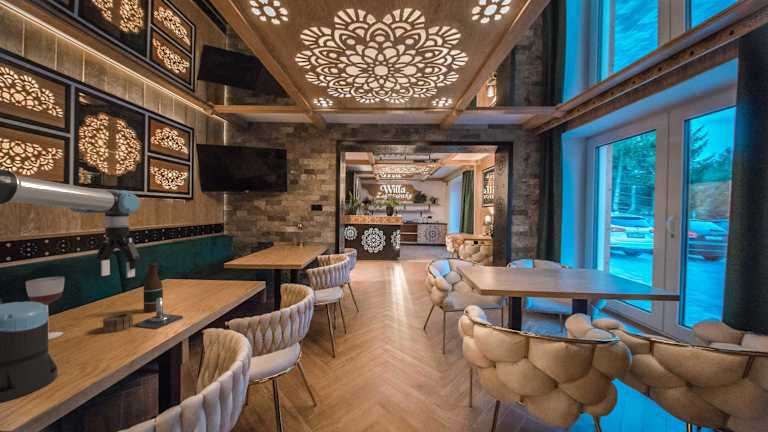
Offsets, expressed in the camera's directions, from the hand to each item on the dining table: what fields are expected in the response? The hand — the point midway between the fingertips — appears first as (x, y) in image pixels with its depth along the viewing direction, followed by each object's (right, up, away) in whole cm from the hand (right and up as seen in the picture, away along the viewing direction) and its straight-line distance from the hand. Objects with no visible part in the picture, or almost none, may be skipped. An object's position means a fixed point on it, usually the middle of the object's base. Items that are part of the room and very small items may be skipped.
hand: (118, 276), depth 121 cm
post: (+12, -22, +7) cm, 26 cm away
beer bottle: (-3, -22, +22) cm, 32 cm away
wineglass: (-21, -23, -8) cm, 32 cm away
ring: (0, -22, 0) cm, 22 cm away
